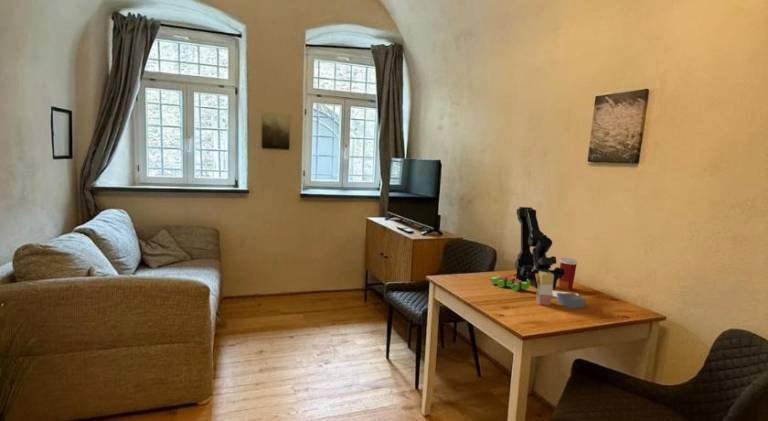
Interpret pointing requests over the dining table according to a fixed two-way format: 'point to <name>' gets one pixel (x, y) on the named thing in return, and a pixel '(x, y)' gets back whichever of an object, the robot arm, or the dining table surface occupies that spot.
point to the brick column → (544, 288)
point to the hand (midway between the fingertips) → (545, 288)
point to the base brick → (571, 300)
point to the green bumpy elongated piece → (510, 282)
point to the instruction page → (555, 293)
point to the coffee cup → (567, 273)
